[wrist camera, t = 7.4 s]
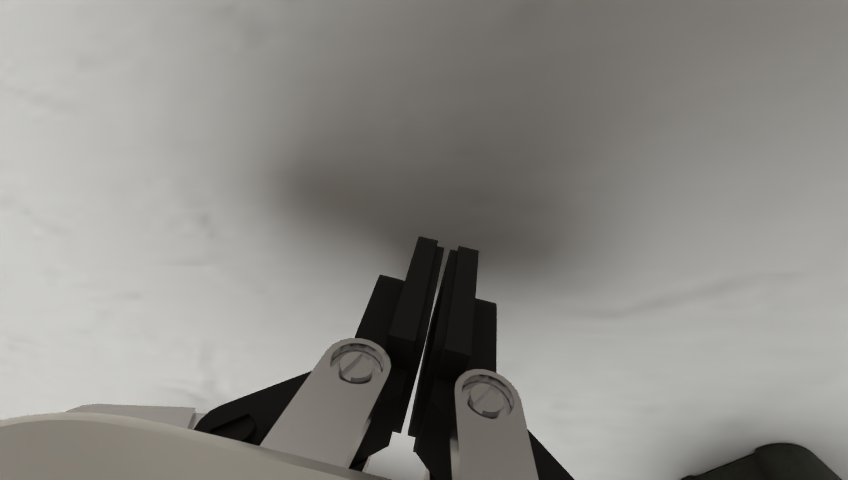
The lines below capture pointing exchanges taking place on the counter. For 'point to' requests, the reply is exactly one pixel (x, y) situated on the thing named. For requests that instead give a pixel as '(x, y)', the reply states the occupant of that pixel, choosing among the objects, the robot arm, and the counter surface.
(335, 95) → the counter surface
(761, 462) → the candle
